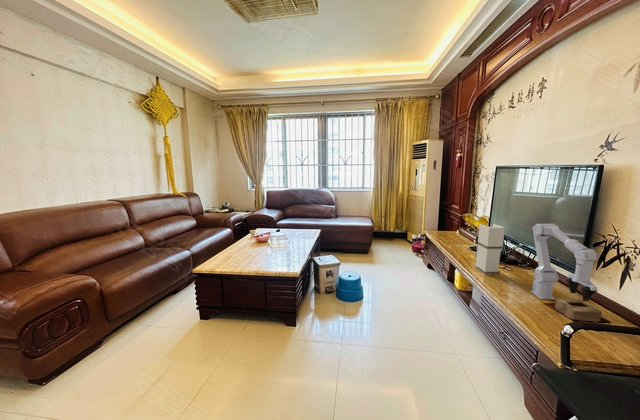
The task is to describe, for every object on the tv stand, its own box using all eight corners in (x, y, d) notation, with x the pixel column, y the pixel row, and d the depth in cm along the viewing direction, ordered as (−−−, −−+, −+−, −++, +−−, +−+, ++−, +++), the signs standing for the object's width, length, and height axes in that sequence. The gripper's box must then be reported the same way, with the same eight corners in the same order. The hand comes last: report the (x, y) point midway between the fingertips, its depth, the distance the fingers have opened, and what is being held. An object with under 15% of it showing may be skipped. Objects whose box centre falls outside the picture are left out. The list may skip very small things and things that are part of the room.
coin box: (554, 307, 139) (556, 297, 138) (579, 309, 137) (580, 299, 136) (572, 320, 127) (574, 310, 126) (599, 322, 126) (601, 311, 125)
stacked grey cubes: (499, 274, 182) (504, 227, 176) (484, 274, 182) (489, 227, 176) (489, 268, 193) (494, 223, 187) (475, 268, 193) (479, 224, 187)
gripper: (563, 266, 136) (559, 289, 138) (587, 278, 122) (582, 303, 124) (577, 266, 135) (573, 290, 137) (603, 278, 121) (598, 304, 123)
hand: (579, 296), depth 131 cm, fingers open, 7 cm apart
